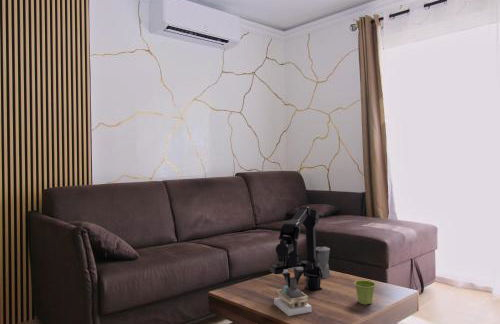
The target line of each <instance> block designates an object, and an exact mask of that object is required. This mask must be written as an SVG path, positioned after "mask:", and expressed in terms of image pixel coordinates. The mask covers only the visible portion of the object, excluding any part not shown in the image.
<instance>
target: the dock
mask: <svg viewBox="0 0 500 324" xmlns="http://www.w3.org/2000/svg"><path fill="white" fill-rule="evenodd" d="M273 304H274V305H275V306H276V308H279V310H281V311H282V312H283V313H284V314H285V315H286V316H288V317H291V316H297V315H301V314H302V315H303V314H307V313H312V312H313V311H312V310H313V307H312V305H311V304H309V302H307V305H303V304H302V303H301V306H297V305H295V307H292V308H291V307H290V306H289V305H288V304H286V303H285V302H284V301H283V300H281V299H280V298H279V297H274V298H273Z"/></svg>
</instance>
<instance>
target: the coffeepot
mask: <svg viewBox="0 0 500 324" xmlns="http://www.w3.org/2000/svg"><path fill="white" fill-rule="evenodd" d="M319 245H320V246H316V257H317V259H318V260H319V262H320V267H321V269H322V271H323V277H322V278H321V279H328V278H330V277H331V273H330V266H329V259H330V252H331V248H330V247H328V246H324V243H322V242H321V243H320V244H319Z"/></svg>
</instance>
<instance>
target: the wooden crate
mask: <svg viewBox="0 0 500 324" xmlns="http://www.w3.org/2000/svg"><path fill="white" fill-rule="evenodd" d="M297 285H298V284H297V280H296V278H294V276H290V287H288V295H286V294H285V293H284V288H280V289H279V288H278V289H276V295H278V297H277V298H280V299H281V300H283V301H284V302H285V303H286V304H288V305H289V306H290V307H291V308H292V307H295V305H297V306H301V303H302V304H303V305H307V303H308V302H309V299H310V297H309V296H308V294H306V293H304V292H303V291H301V297H298V298H290V290H296V289H298V288H297V287H298V286H297Z"/></svg>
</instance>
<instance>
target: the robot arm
mask: <svg viewBox="0 0 500 324" xmlns="http://www.w3.org/2000/svg"><path fill="white" fill-rule="evenodd" d="M319 220H320V213H319V212H318V211H317V210H316V209H313V208H311V207H309V206H299V207H298V210H297V212H296V213H295V214H294V215H293V217H292V218H291V219H290V220H287V221H285V222H284V223H283V224H282V225H281V229H280V232H279V236H278V240H279V243H278V244H277V245H276V247H275V253H276V255H275V261H276V264H275V263H274V264H271V266H269V271H270V273H272V274H274V275H282V276H283V277H284V280H285V283H286V285H287V286H288V287H290V278H291V273H290V272H289V270H293V273H294V274H293V275H294V276H293V277H294V278H296V280H297V285H298V283H299V282H300V280H301V277H302V276H303V277H306V279H305V286H304V288H306V289H307V290H309V291H311V292H312V291H313V292H314V291H320V290H323V288H322V287H321V279H323V278H322V277H323V271H322V269H321V267H320V262H319V260H318V259H317V257H316V247H317V244H316V243H317V241H316V240H317V239H316V227H317V226H318V224H319ZM302 225H303V226H304V229H305V247H306V251H305V252H306V258H305V260H300V261H299V257H300V254H299V251H298V250H299V247H298V240H299V238H300V237H299V236H300V234H301V231H302V229H301V226H302Z"/></svg>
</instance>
